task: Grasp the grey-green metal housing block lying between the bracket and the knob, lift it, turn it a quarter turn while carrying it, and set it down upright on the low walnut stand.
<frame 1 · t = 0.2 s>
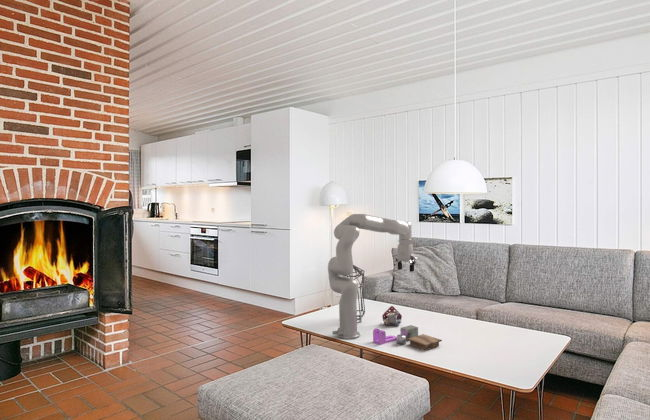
hand: (405, 270, 253), 31 cm above the table, tool pointing down, fingers open, 9 cm apart
stand: (424, 345, 210), on the table
brake caliper: (392, 325, 247), on the table
geometric lantern: (352, 321, 257), on the table
bracket: (386, 341, 219), on the table
knob: (401, 343, 214), on the table
housing: (409, 338, 221), on the table
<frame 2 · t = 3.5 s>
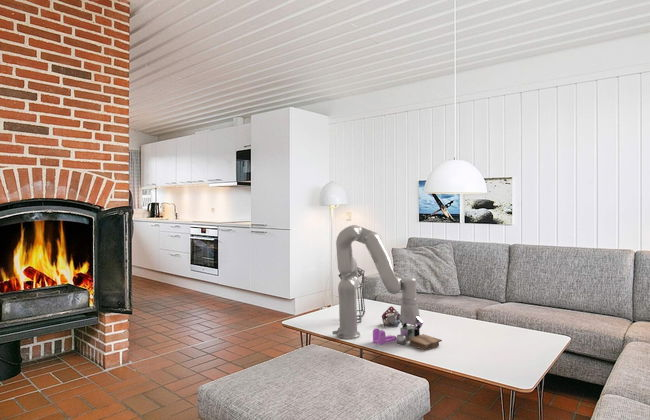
hand: (411, 334, 221), 2 cm above the table, tool pointing down, fingers open, 7 cm apart
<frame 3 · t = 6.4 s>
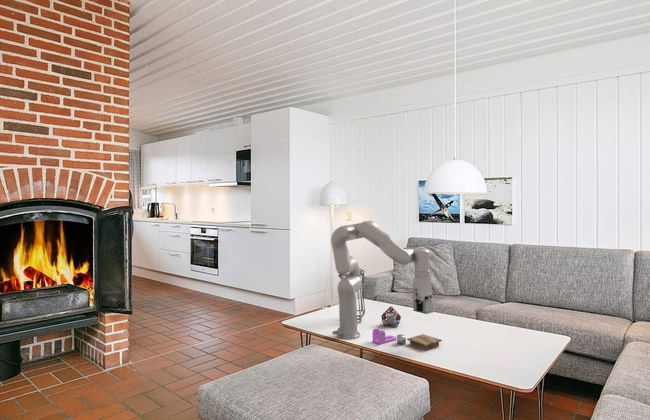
hand: (423, 309, 211), 18 cm above the table, tool pointing down, fingers closed on housing, 5 cm apart
housing: (423, 311, 211), point 17 cm above the table, touching gripper
when the fingers open (5 cm above the table, at t = 9.2 s): housing drops 1 cm, resting on stand.
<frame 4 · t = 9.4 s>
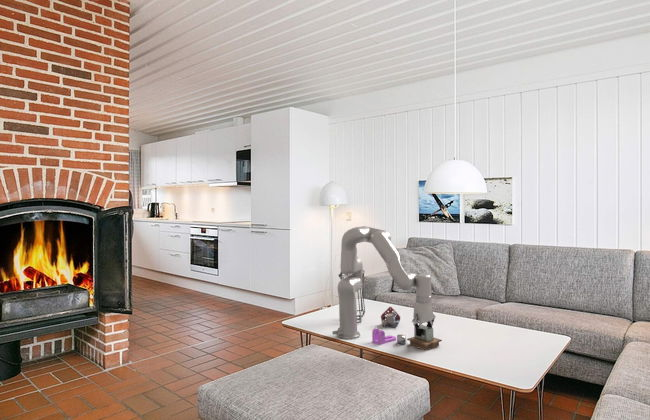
hand: (424, 334, 210), 6 cm above the table, tool pointing down, fingers open, 7 cm apart
housing: (423, 339, 211), point 3 cm above the table, touching stand
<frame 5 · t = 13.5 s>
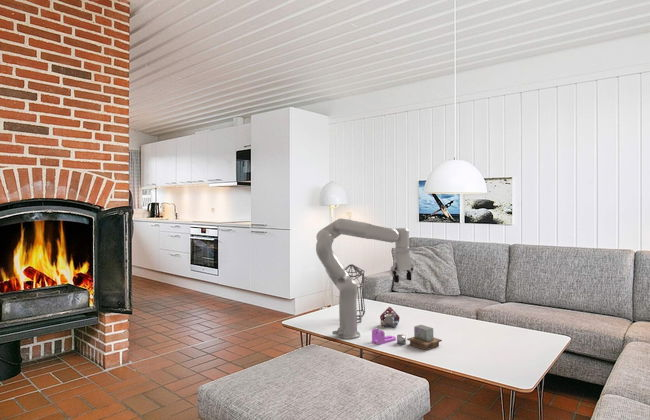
hand: (402, 281, 233), 28 cm above the table, tool pointing down, fingers open, 9 cm apart
at the end: housing inside the target area on the stand (0.2 cm from its centre), point 3.0 cm above the stand's base; housing tilted 0°; the gripper is holding nothing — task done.
